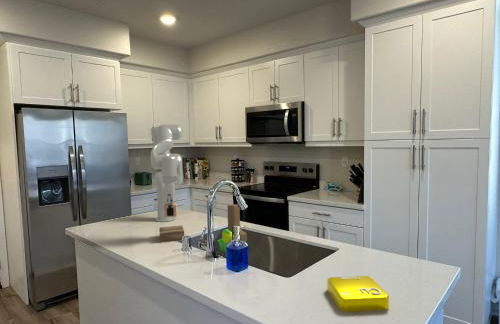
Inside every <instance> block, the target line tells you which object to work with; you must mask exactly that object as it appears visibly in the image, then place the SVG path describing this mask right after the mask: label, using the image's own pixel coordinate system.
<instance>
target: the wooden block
mask: <svg viewBox="0 0 500 324" xmlns="http://www.w3.org/2000/svg"><path fill="white" fill-rule="evenodd" d="M238 205H239V204H236V203H235V204H234V203H232V204H228V205H227V229H228V230H229V231H230V232H232V227H233V226H240V237H241V238H240V239H241V240H242V241H245V243H247V242H248V233H247V232H245V231H243V230H242V228H241V214H240V212H241V211H240V210H241V208H239V207H238Z"/></svg>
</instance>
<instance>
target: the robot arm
mask: <svg viewBox="0 0 500 324" xmlns="http://www.w3.org/2000/svg"><path fill="white" fill-rule="evenodd" d="M150 135H151V139H152V141H153V143H154V146H153V147H152V149H151V151H150V166H151V168H153V169H154V170H160V171H157V172H156V173H155V174H154V181H155V188H156V203H157V207H156V208H157V209H156V210H157V217H155V219H154V221H155V222H160V223H164V222H171V221H172V222H173V221H174V220H176V217H164V205H165V204H166V203H167V216H173V215H174V211H173V203H175V200H176V186H179V185H180V186H181V185H182V184H183V182H184V181H183V180H184V175H183V174H184V173H183V158H182V155H180V154H179V153H171V152H170V151H171V150H172V148H173V147H174V141H177V140H178V141H179V140H180V139H181V138H182V136H183V130H182V128H181V125H179V124H161V125H159V126H154V127H152V128H151V130H150ZM171 203H172V204H171Z"/></svg>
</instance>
